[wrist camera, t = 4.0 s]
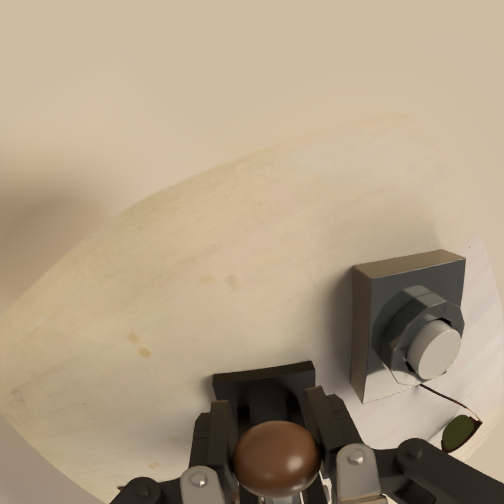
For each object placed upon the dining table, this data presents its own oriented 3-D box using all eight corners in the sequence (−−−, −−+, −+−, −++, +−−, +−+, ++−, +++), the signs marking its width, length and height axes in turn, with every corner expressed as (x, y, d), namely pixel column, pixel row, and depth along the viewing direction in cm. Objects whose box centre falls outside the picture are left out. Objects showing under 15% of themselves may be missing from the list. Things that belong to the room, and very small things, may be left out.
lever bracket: (213, 373, 21) (201, 499, 9) (311, 360, 21) (360, 476, 10) (233, 445, 23) (235, 543, 12) (312, 434, 23) (340, 528, 12)
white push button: (410, 327, 16) (423, 339, 14) (451, 313, 16) (465, 323, 14) (402, 373, 17) (413, 387, 15) (442, 358, 17) (454, 369, 15)
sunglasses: (395, 470, 27) (405, 492, 22) (332, 450, 26) (340, 480, 21) (467, 404, 25) (484, 423, 20) (423, 366, 24) (445, 391, 19)
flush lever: (222, 411, 8) (225, 493, 6) (314, 397, 9) (336, 477, 6) (258, 489, 14) (262, 525, 12) (302, 483, 14) (309, 518, 12)
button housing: (352, 265, 20) (384, 287, 15) (442, 249, 20) (481, 263, 15) (349, 382, 22) (369, 418, 17) (429, 356, 22) (456, 382, 17)
